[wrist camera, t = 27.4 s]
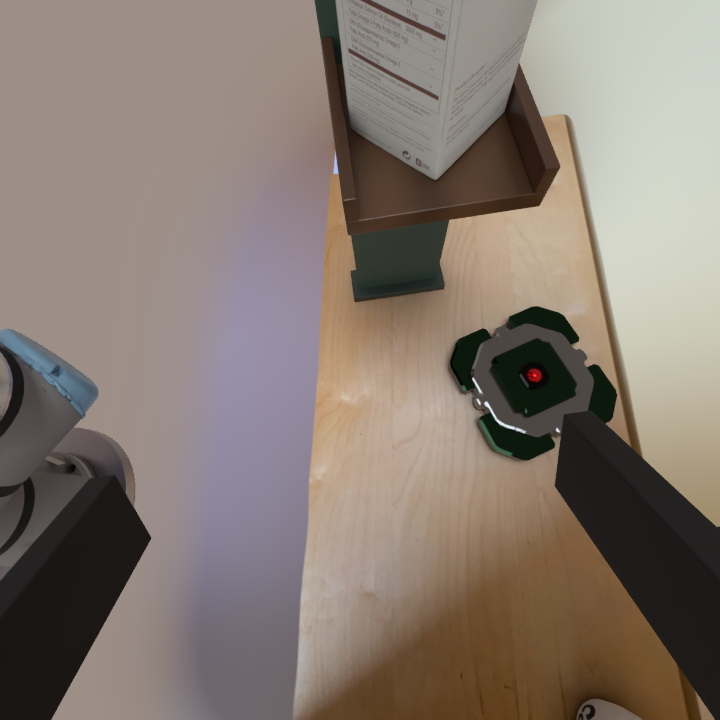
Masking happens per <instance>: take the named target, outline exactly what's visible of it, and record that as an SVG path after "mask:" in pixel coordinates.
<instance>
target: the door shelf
mask: <svg viewBox="0 0 720 720" xmlns="http://www.w3.org/2000/svg"><path fill="white" fill-rule="evenodd" d="M321 45H322V53H323V61H324V68H325V75H326V83H327V90H328V98H329V104H330V112H331V120H332V127H333V134H334V142H335V150H336V157H337V165H338V172H339V180H340V187H341V194H342V202H343V208H344V214H345V220H346V226H347V232H348V235H354V234H361V233H367V232H374V231H380V230H386V229H393V228H399V227H406V226H412V225H419V224H425V223H432V222H438V221H445V220H451V219H458V218H464V217H471V216H477V215H484V214H490V213H497V212H503V211H510V210H516V209H523V208H529V207H536V206H539V205H540V204H541V202H542V200H543V198H544V196H545V194H546V193H547V191H548V189H549V187H550V185H551V184H552V182H553V180H554V178H555V176H556V174H557V172H558V171H559V169H560V164H559V161H558V159H557V156H556V154H555V151H554V149H553V146H552V144H551V141H550V139H549V136H548V134H547V131H546V129H545V126H544V124H543V121H542V119H541V116H540V114H539V111H538V109H537V106H536V104H535V101H534V99H533V96H532V94H531V91H530V89H529V86H528V84H527V81H526V79H525V76H524V74H523V71H522V69H521V66H520V64H518V68H517V71H516V75H515V78H514V81H513V84H512V87H511V91H510V94H509V97H508V101H507V104H506V108H505V112H504V113H503V114H502V115H501V116H500V117H499V118H498V119H497V120H496V121H495V122H494V123H493V124H492V125H491V126H490V127H489V128H488V129H487V130H486V131H485V132H484V133H483V134H482V135H481V136H480V137H479V138H478V139H477V140H476V141H475V142H474V143H473V144H472V145H471V146H470V147H469V148H468V149H467V150H466V151H465V152H464V153H463V154H462V155H461V156H460V157H459V158H458V159H457V160H456V161H455V162H454V163H453V164H452V165H451V166H450V167H449V168H448V169H447V170H446V171H445V172H444V173H443V174H442V175H441V176H440V177H439V178H438V179H437V180H434V179H432V178H430V177H428V176H426V175H425V174H423V173H422V172H420V171H418V170H416V169H415V168H413V167H411V166H410V165H408V164H406V163H405V162H403V161H402V160H400V159H398V158H397V157H395V156H393V155H392V154H390V153H388V152H387V151H385V150H383V149H382V148H380V147H379V146H377V145H375V144H374V143H372V142H371V141H369V140H367V139H366V138H364V137H362V136H361V135H359V134H358V133H356V132H355V131H354V130H352V129H351V127H350V120H349V111H348V103H347V95H346V87H345V78H344V69H343V64H339V65H336V59H335V52H334V46H333V39H332V37H325V38H321Z"/></svg>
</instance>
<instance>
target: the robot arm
mask: <svg viewBox="0 0 720 720" xmlns="http://www.w3.org/2000/svg"><path fill="white" fill-rule="evenodd" d="M97 397H98V388H97V386H96V385H95V384H94V383H93V382H92V381H91V380H90V379H89V378H88V377H87V376H85V375H84V374H83V373H81V372H80V371H79V370H77V369H76V368H75V367H73V366H72V365H70V364H69V363H68V362H66V361H65V360H63V359H62V358H60V357H59V356H57V355H56V354H54V353H53V352H51V351H49V350H48V349H46V348H45V347H43V346H42V345H40V344H38V343H37V342H35V341H33V340H32V339H30V338H28V337H26V336H25V335H23V334H21V333H19V332H17V331H14V330H11V329H3V330H1V331H0V566H6V567H12V568H11V569H10V570H9V571H8V572H7V573H6V575H5V576H4V577H3V578H2V579H1V580H0V720H51V719H52V717H53V715H54V713H55V712H56V710H57V708H58V706H59V704H60V703H61V701H62V699H63V697H64V695H65V693H66V692H67V690H68V688H69V686H70V684H71V683H72V681H73V679H74V677H75V675H76V674H77V672H78V670H79V668H80V666H81V664H82V663H83V661H84V659H85V657H86V656H87V654H88V652H89V650H90V648H91V646H92V644H93V643H94V641H95V639H96V637H97V635H98V634H99V632H100V630H101V628H102V627H103V625H104V623H105V621H106V619H107V617H108V616H109V614H110V612H111V610H112V608H113V607H114V605H115V603H116V601H117V599H118V598H119V596H120V594H121V592H122V590H123V589H124V587H125V585H126V583H127V581H128V580H129V578H130V576H131V574H132V572H133V570H134V569H135V567H136V565H137V563H138V561H139V560H140V558H141V556H142V554H143V552H144V550H145V549H146V547H147V545H148V543H149V542H150V540H151V537H150V535H149V533H148V531H147V530H146V528H145V526H144V524H143V523H142V521H141V520H140V517H139V516H138V514H137V512H136V510H135V509H134V507H133V505H132V504H131V502H130V500H129V498H128V497H127V495H126V493H125V491H124V490H123V488H122V486H121V484H120V483H119V481H118V479H117V477H116V476H115V475H109V476H102V477H97V474H96V472H95V470H94V469H93V467H92V466H91V465H90V464H89V463H88V462H87V461H86V460H85V459H83V458H82V457H80V456H77V455H75V454H70V453H61V452H51V451H52V450H53V449H54V448H55V447H56V446H57V445H58V444H59V443H60V441H61V440H62V439H63V438H64V437H65V436H66V435H67V434H68V433H69V432H70V431H71V429H72V428H73V427H74V426H75V425H76V424H77V423H78V422H79V421H80V420H81V419H83V418H84V416H85V413H86V412H87V410H88V409H89V408H90V407H91V405H92V404H93V403H94V401H95V400H96V399H97ZM555 487H556V489H557V490H558V492H559V493H560V494H561V496H562V497H563V499H564V500H565V502H566V503H567V505H568V506H569V508H570V509H571V510H572V512H573V513H574V515H575V516H576V518H577V519H578V521H579V522H580V524H581V525H582V526H583V528H584V529H585V531H586V532H587V534H588V535H589V537H590V538H591V540H592V541H593V542H594V544H595V545H596V547H597V548H598V550H599V551H600V553H601V554H602V556H603V557H604V558H605V560H606V561H607V563H608V564H609V566H610V567H611V569H612V570H613V572H614V573H615V574H616V576H617V577H618V579H619V580H620V582H621V583H622V585H623V586H624V588H625V589H626V590H627V592H628V593H629V595H630V596H631V598H632V599H633V601H634V602H635V604H636V605H637V606H638V608H639V609H640V611H641V612H642V614H643V615H644V617H645V618H646V620H647V621H648V622H649V624H650V625H651V627H652V628H653V630H654V631H655V633H656V634H657V636H658V637H659V638H660V640H661V641H662V643H663V644H664V646H665V647H666V649H667V650H668V652H669V653H670V655H671V656H672V657H673V659H674V660H675V662H676V663H677V665H678V666H679V668H680V669H681V671H682V672H683V673H684V675H685V676H686V678H687V679H688V681H689V682H690V684H691V685H692V687H693V688H694V689H695V691H696V692H697V694H698V695H699V696H700V698H701V700H702V701H703V703H704V704H705V705H706V707H707V708H708V710H709V711H710V713H711V714H712V715H713V717H714V719H715V720H720V527H716V526H715V525H714V524H713V523H712V522H710V521H709V520H708V519H707V518H706V517H705V516H704V515H703V514H702V513H701V512H700V511H699V510H698V509H697V508H695V507H694V506H693V505H692V504H691V503H690V502H689V501H688V500H687V499H686V498H685V497H684V496H683V495H682V494H680V493H679V492H678V491H677V490H676V489H675V488H674V487H673V486H672V485H671V484H669V482H668V481H666V480H665V479H664V478H663V477H662V476H661V475H660V474H659V473H658V472H657V471H656V470H655V469H654V468H652V467H651V466H650V465H649V464H648V463H647V462H646V461H645V460H644V459H643V458H642V457H641V456H640V455H638V454H637V453H636V452H635V451H634V450H633V449H632V448H631V447H630V446H629V445H628V444H627V443H626V442H624V441H623V440H622V439H621V438H620V437H619V436H618V435H617V434H616V433H615V432H614V431H613V430H612V429H610V428H609V427H608V426H607V425H606V424H605V423H604V422H603V421H602V420H601V419H600V418H599V417H598V416H596V415H595V414H594V413H593V412H592V411H583V412H576V413H569V414H564V416H563V424H562V432H561V440H560V448H559V456H558V464H557V472H556V481H555Z"/></svg>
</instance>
